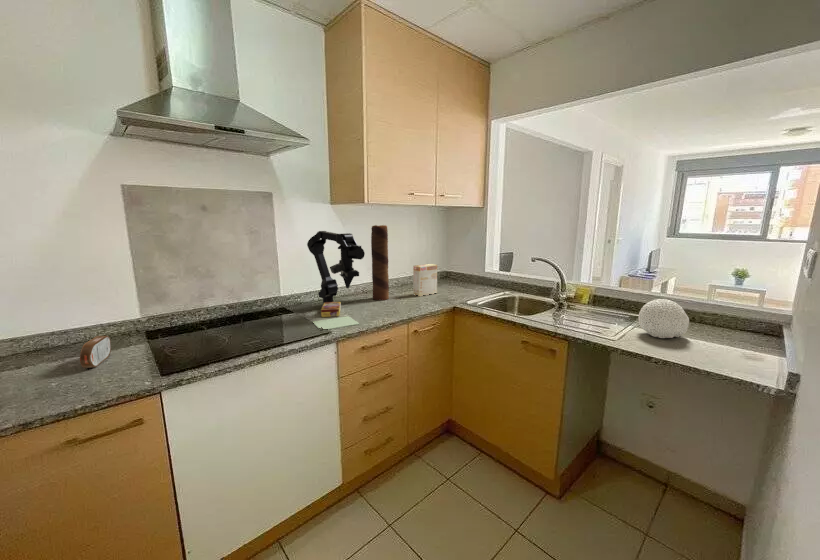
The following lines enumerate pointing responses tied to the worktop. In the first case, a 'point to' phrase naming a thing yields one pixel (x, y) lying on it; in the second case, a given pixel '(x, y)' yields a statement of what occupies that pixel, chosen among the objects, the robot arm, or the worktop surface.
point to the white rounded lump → (663, 319)
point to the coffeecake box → (424, 279)
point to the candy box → (331, 309)
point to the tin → (95, 351)
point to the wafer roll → (380, 262)
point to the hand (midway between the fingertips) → (347, 288)
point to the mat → (336, 323)
